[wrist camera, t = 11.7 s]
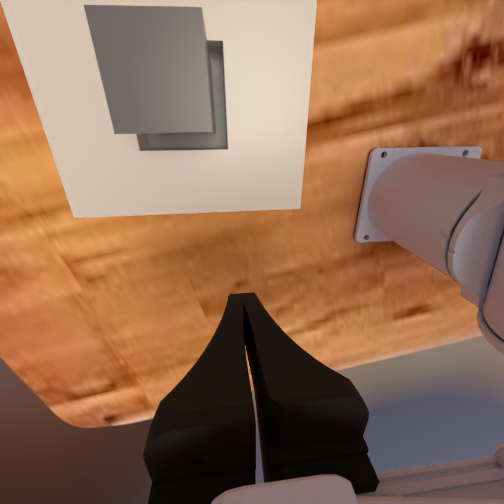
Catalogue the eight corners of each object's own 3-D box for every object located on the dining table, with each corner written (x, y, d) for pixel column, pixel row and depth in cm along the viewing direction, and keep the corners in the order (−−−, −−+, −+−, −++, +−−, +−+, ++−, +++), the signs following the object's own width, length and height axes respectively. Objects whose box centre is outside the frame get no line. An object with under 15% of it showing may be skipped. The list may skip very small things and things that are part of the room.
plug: (210, 62, 16) (201, 7, 9) (216, 131, 18) (212, 131, 11) (146, 63, 16) (83, 4, 8) (158, 133, 17) (114, 134, 10)
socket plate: (306, -34, 15) (321, -64, 12) (292, 200, 21) (300, 208, 19) (13, -50, 13) (-30, -87, 11) (91, 208, 19) (74, 218, 17)
